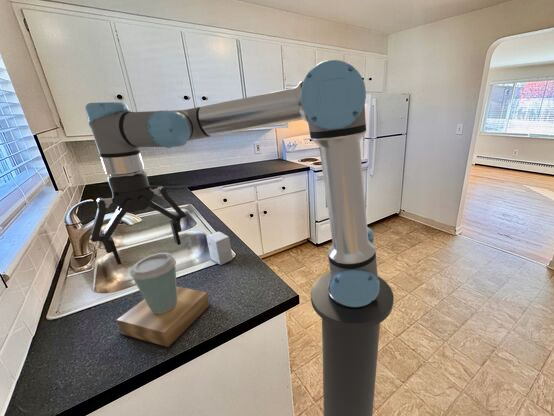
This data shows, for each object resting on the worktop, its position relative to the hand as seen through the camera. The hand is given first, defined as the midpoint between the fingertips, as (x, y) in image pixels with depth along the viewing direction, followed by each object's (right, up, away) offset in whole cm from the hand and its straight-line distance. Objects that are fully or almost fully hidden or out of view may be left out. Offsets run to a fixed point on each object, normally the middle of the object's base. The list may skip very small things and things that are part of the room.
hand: (150, 252), depth 70 cm
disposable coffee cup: (0, -17, +6) cm, 18 cm away
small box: (+4, -9, +38) cm, 39 cm away
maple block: (0, -21, +8) cm, 23 cm away
